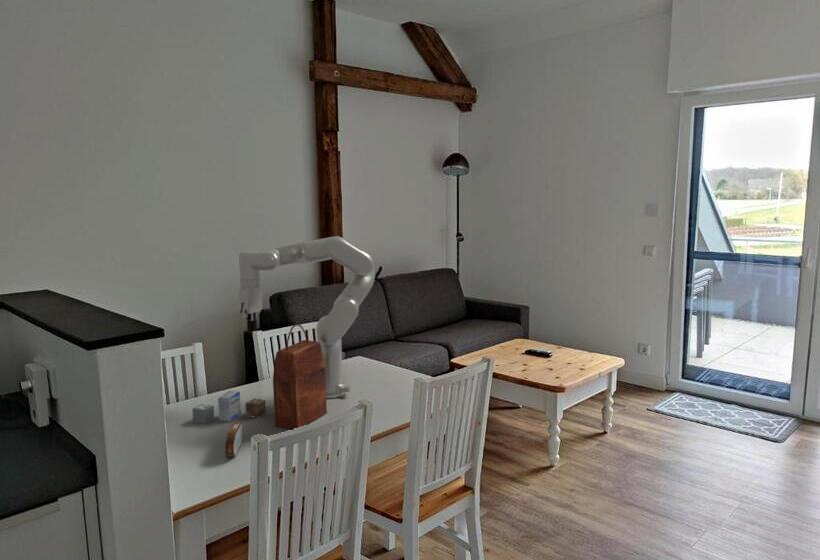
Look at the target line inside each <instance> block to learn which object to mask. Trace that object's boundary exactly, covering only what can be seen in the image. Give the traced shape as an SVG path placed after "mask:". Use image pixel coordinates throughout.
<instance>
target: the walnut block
mask: <svg viewBox="0 0 820 560" xmlns="http://www.w3.org/2000/svg"><path fill="white" fill-rule="evenodd" d="M266 405H267V404H266V400H265V399H259V398H252V399H250V400H249V401H247V402H245V416H246V415H247V416H246V417H249V416H254V417H253V418H256V417H258V418H260V417H262V416H263V415H265V414H267V407H266ZM264 413H265V414H264ZM262 414H263V415H262ZM261 415H262V416H261ZM259 416H260V417H259Z"/></svg>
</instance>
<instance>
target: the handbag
mask: <svg viewBox="0 0 820 560" xmlns="http://www.w3.org/2000/svg"><path fill="white" fill-rule="evenodd" d="M296 326H298V327H300V328H301V330H302V331H303V335H304V337H305V339H304V340H301V341H298V342H296V343H294V344H291V345H289V340H290V336H291V333H292V331H293V329H295V328H296ZM288 332H289V333H288V335H287V338H286V346H285V347H284V348H282V349H279V350H277V351H276V353H275V358H274V362H273V363H274V366H273V375H272V385H273V386H272V388H273V389H272V390H273V405H274V406H273V407H274V422H275V423H274V424H275V427H277V428H282V429H287V430H291V429H294V428H298V427H301V426H304V425H306V426H308V425H309V424H311V423H312V422H313V421H315V420H317V419H319V418H320V417H322V416H323V415H325V414H327V412H328V411H327V410H328V409H327V398H326V380H325V365H324V360H323V355H322V350H321V345H320V342H317V340H316V341H315V340H309V339H308V336H307V334H306V331H305V329H304V327H303V326H302V325H301V324H299V323H297V324H294V325H293V326H292V327H290V330H289V331H288ZM307 424H308V425H307Z"/></svg>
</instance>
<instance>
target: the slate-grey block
mask: <svg viewBox="0 0 820 560" xmlns="http://www.w3.org/2000/svg"><path fill="white" fill-rule="evenodd" d="M214 406H215V405H213V404H212V405H211V404H207V403H206V404H204V403H201V404H199V405H196V406H195V407H193V408H192V422H193V423H196V422H197V424H203V425H205V424H207V423H210V422H211V421H213V420H215V409H214V408H215V407H214Z"/></svg>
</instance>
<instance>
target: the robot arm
mask: <svg viewBox="0 0 820 560" xmlns="http://www.w3.org/2000/svg"><path fill="white" fill-rule="evenodd" d="M330 260H333V261H334V262H336V264H337V263H338V264H339V265H341V266H343V267H344V268H345V269H348V270H349V271H350V272H352V273H353V275H352V278H351V280H350V281H349V282H348V284H347V285H346V287H345V288H344V289H343V291H342V292H341V293H340V294H339V296H338V297H337V298H336V299H335V300H334V302H333V307H332V309H331V310H330V311H329V313H328V314H327V315H324V316H322V317H320V319H319V320H318V322H317V324H316V341H317V342H320V345H321V350H322V355H323V360H324V365H325V380H326V399H334V398H340V397H342V396H344V395H346V393H351V392H352V388H351V385H346V384H345V381H344V380H343V360H342V359H343V358H342V357H343V354H342V345H343V344H342V337H343V336H344V335H345V334H346V333H347V331H348V330H349V328H350V327H351V326H352V325H353V324H354V322H355V321H356V319H357V317H358V315H359V312H360V311H359V309H360V305H361V304H362V302H363V301H364V300H365V298H366V297H367V296H368V294H369V292H370V291H371V289H372V288H373V286H374V283H375V278H376V269H375V264H374V259H373V258H372V257H371V255H370V254H369V253H368V252H366V251H362V250H360V249H359V248H357V247H355V246H353V245H352V244H350V243H349V242H347V241H346V240H345V239H344V238H343V237H341V236H340V235H339V236H338V235H337V236H330V237H324V238H319V239H314V240H310V241H304V242H299V243H295V244H294V243H293V244H290V245H285V246H279V247H273V248H269V249H266V250H265V251H261V252H258V251H257V250H256V251H254V250H244V251H241V252H239V254H238V268H239V289H238V293H237V295H238V296H237V297H238V298H237V311H238V313H239V314H241V318H245V320H246V328H247V331H250V332H254V331H255V332H256V331H257V330H258V326H257V320H258V315H259V314H260V313H261V312H262V309H263V294H262V287H261V271H268V272H272V271H274V270H276V269H277V268H278V267H282V266H283V267H284V266H288V265H293V264H302V265H305V264H306V265H309V264H310V265H311V264H314V263H318V262H323V261H330Z"/></svg>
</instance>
